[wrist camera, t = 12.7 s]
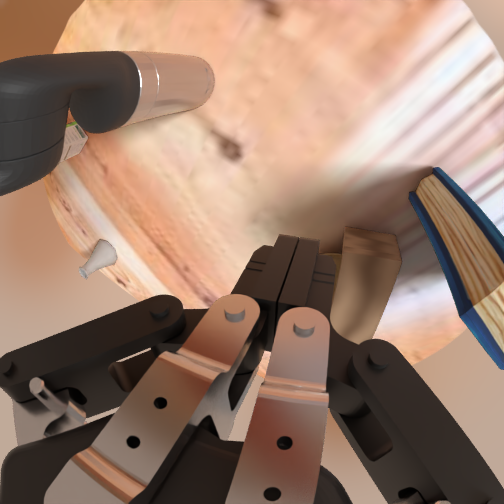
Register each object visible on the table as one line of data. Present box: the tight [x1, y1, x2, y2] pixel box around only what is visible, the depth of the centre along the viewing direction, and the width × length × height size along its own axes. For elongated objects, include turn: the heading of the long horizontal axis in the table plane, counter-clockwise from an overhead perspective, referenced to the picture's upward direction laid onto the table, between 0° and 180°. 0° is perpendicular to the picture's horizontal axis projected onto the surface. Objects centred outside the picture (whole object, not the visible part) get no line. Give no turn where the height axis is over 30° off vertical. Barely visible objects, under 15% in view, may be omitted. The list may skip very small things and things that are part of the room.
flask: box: [79, 239, 117, 279], centre depth 60 cm, size 7×7×10 cm
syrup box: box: [59, 121, 88, 163], centre depth 42 cm, size 6×6×14 cm
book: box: [409, 167, 504, 370], centre depth 25 cm, size 22×7×25 cm, turn 57°
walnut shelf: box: [330, 227, 402, 345], centre depth 44 cm, size 8×22×8 cm, turn 1°
